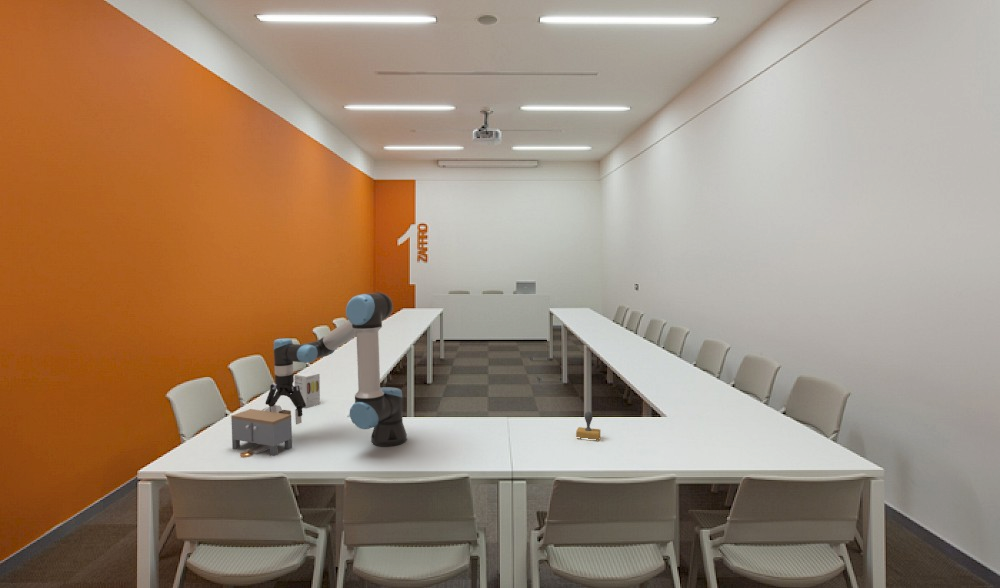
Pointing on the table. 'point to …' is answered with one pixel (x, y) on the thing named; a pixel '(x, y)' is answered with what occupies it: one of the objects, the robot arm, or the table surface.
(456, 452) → the table surface
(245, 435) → the low cabinet
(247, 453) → the copper disc
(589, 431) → the rubber stamp
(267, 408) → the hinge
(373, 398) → the robot arm
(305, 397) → the supplement box
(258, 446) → the wooden block bookend
